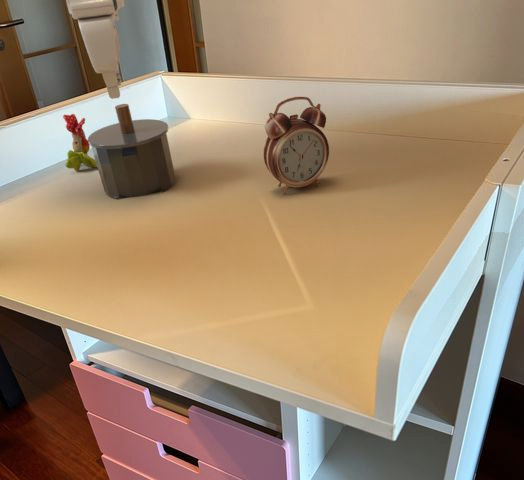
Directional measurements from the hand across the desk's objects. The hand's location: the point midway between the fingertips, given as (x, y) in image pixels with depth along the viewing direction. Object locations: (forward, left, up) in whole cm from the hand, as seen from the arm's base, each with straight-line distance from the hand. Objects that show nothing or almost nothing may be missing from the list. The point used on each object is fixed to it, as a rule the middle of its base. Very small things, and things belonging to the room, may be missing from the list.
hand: (116, 91), depth 98 cm
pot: (0, 0, -17) cm, 17 cm away
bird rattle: (-12, +17, -17) cm, 27 cm away
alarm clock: (+28, -14, -17) cm, 36 cm away
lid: (0, 0, -8) cm, 8 cm away
